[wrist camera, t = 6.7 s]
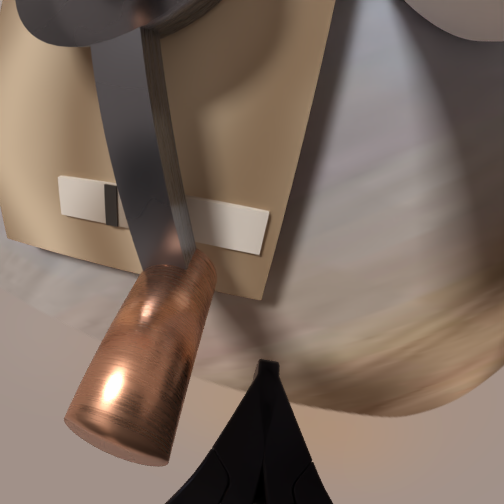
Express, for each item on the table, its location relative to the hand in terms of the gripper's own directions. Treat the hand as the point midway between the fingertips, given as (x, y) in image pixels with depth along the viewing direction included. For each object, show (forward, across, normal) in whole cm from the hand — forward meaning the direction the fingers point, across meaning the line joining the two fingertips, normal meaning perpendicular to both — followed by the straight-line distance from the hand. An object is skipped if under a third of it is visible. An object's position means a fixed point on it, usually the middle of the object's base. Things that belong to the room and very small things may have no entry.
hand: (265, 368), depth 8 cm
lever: (+3, +5, -7) cm, 9 cm away
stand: (+5, +7, -8) cm, 11 cm away
